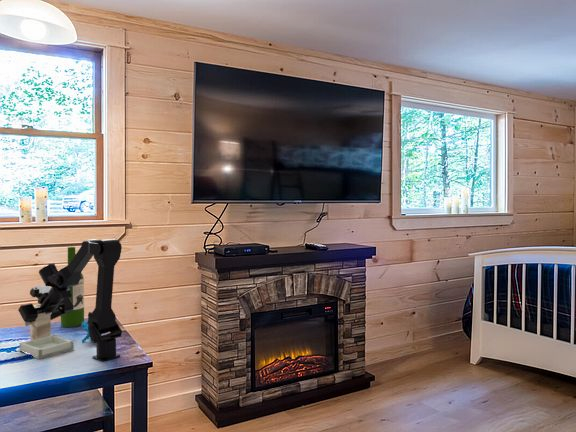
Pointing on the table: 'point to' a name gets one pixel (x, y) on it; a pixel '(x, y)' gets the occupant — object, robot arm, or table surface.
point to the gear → (85, 325)
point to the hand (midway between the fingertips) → (38, 322)
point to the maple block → (40, 326)
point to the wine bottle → (75, 300)
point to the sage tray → (46, 346)
